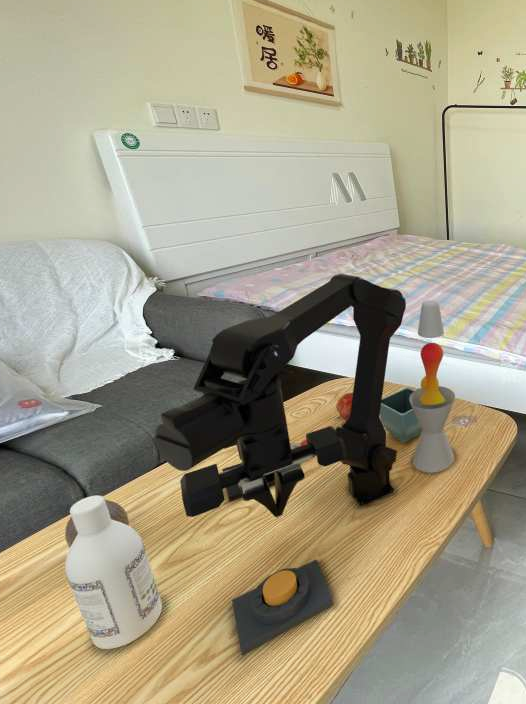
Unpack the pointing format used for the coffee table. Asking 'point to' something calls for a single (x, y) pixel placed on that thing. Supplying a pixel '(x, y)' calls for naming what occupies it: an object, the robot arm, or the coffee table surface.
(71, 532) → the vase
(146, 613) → the bath foam
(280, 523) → the coffee table surface
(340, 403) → the pomegranate
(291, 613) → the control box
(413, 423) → the flower pot
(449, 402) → the lava lamp
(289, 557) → the coffee table surface
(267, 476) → the bracket
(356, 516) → the coffee table surface
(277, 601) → the button
